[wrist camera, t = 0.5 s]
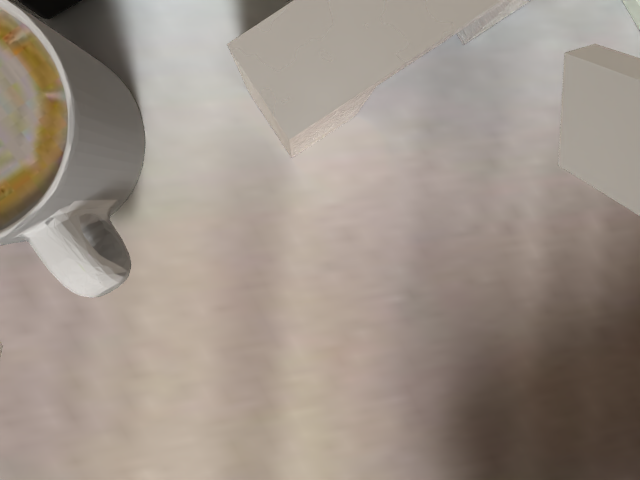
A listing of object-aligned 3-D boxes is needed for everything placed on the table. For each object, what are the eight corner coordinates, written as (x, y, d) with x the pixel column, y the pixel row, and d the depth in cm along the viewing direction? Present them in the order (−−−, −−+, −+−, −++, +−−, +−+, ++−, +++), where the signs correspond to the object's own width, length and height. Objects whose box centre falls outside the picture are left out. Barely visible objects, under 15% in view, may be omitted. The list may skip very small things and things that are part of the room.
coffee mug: (-79, 89, 31) (-257, 38, 21) (98, 16, 31) (3, -70, 21) (31, 322, 32) (-90, 379, 22) (201, 251, 32) (158, 275, 22)
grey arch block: (526, 3, 32) (638, -91, 21) (291, 158, 32) (288, 139, 21) (486, -62, 31) (581, -191, 21) (250, 95, 32) (227, 44, 21)
